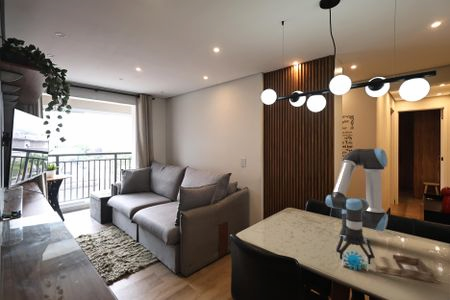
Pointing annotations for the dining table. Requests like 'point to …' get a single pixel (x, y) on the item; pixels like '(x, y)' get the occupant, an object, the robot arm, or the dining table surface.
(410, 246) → the dining table surface
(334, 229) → the dining table surface
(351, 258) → the gear
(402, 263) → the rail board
